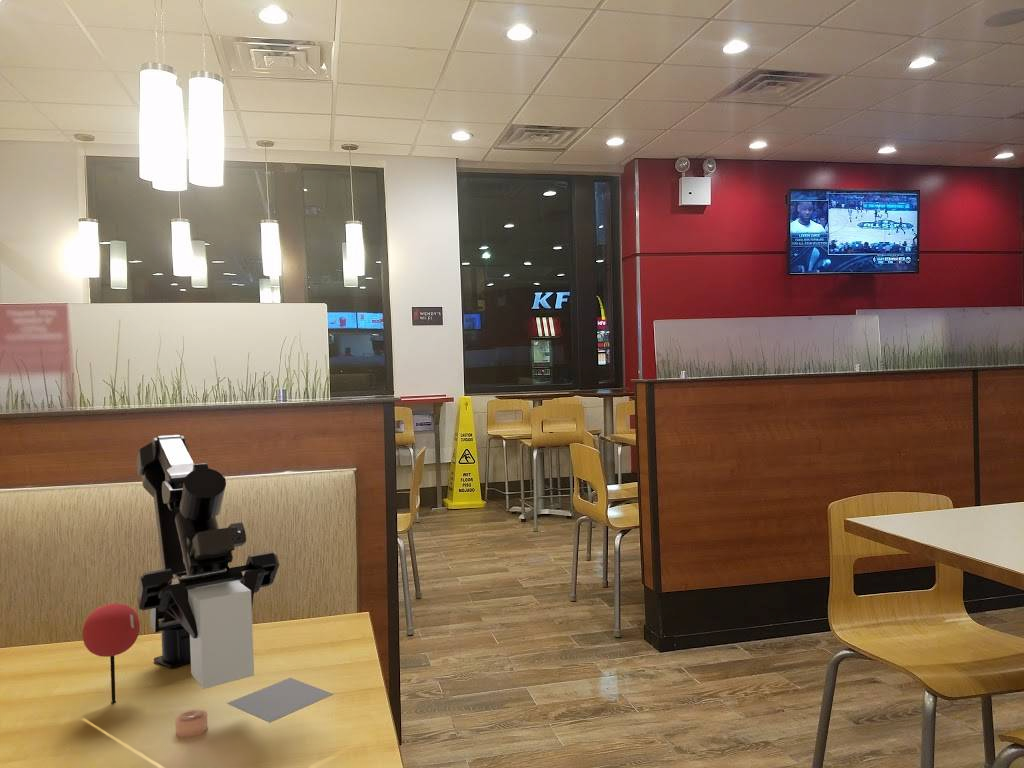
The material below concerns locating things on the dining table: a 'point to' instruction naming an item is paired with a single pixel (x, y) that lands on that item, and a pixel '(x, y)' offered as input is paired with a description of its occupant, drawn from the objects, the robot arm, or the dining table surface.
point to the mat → (279, 699)
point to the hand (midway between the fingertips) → (223, 630)
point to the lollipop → (111, 633)
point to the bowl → (191, 723)
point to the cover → (221, 634)
